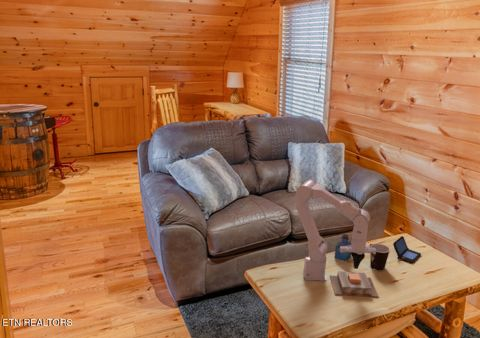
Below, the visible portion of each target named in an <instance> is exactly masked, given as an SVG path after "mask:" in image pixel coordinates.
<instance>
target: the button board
mask: <svg viewBox="0 0 480 338" xmlns="http://www.w3.org/2000/svg"><path fill="white" fill-rule="evenodd" d="M348 273H349V274H359V276H360V279H361V282H360V283H349V280H348ZM329 278H330V282H331V286H332V288H333V289H332V290H333V293H334V296H346V297H363V298H379V297H380V295H379V294H378V292H377V289H376V287H375V285H374V283H373V280H372V278H371V277H368V276H367V274H366V272H357V271H355V272H354V271H337V275H329Z"/></svg>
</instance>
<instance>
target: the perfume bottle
mask: <svg viewBox="0 0 480 338" xmlns="http://www.w3.org/2000/svg"><path fill="white" fill-rule="evenodd" d="M349 236H350V235H349V234H346V233H342V234H341V239H340V240H339V242H338V243H337V244H336V246H335V249H334V259H336V260H339V261H342V262H345V263H347V262H348V261H349V260H350V259H351V258H352V255H351V252H343V253H341V252H340V246H350V245H351V244H352V241H350V240H349V239H350V238H349Z"/></svg>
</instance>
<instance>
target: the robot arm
mask: <svg viewBox="0 0 480 338" xmlns="http://www.w3.org/2000/svg"><path fill="white" fill-rule="evenodd" d="M317 199H321V200H323V201H325V202H326V203H328V204H329V205H331V206H333V207H335V208H336V209H337V212H338V213H339V214H341V215H342V216H344V217H345V218H347V219H348V220H349V221H352V223H353V228H352V237H351V245H350V246H340V252H341V253H343V252H351V258H352V264H353V269H354V270H356V269H359V266H360V264H361V262H362V261H363V260H364V259H365V257H366V254H370V253H373V254H376V249H375V248H371V247H370V246H366V245H367V238H368V228H369V222H370V220H371V214H370V212H369V211H368V210H367V209H362V208H360V207H359V208H358V207H357V206H355V205H354V204H352V201H350V200H341V199H339V198H338V197H337V196H335V195H334V194H332V193H331V192H330V191H329V190H327V189H325V188H324V187H323V186H322V185H321V184H320V183H318V182H316V181H315V180H313V179H307V180H306V181H305V182H304V183H303V184H301V185H300V186H299V187H298V188H297V190H296V191H295V199H294V206H295V209H296V211H297V215H298V217H299V219H300V222H301V224H302V227H303V229H304V233H305V234H306V237H307V240H308V241H307V242H308V244H307V248H308V256H304V263H303V275H304V279H305V280H307V281H322V282H326V281H327V276H326V268H327V255H326V254H327V253H328V252H329V247H330V246H329V245H328V243H327V242H326V241H325V239H324V237H323V236H321V235H320V233H319V230H318V228H317V225H316V222H315V218H314V217H313V214H312V211H311V209H310V206H309V201H310V200H317Z"/></svg>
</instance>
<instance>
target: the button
mask: <svg viewBox="0 0 480 338" xmlns="http://www.w3.org/2000/svg"><path fill="white" fill-rule="evenodd" d="M348 280H349V283H360V282H361V279H360V276H359V274H349V273H348Z"/></svg>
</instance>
